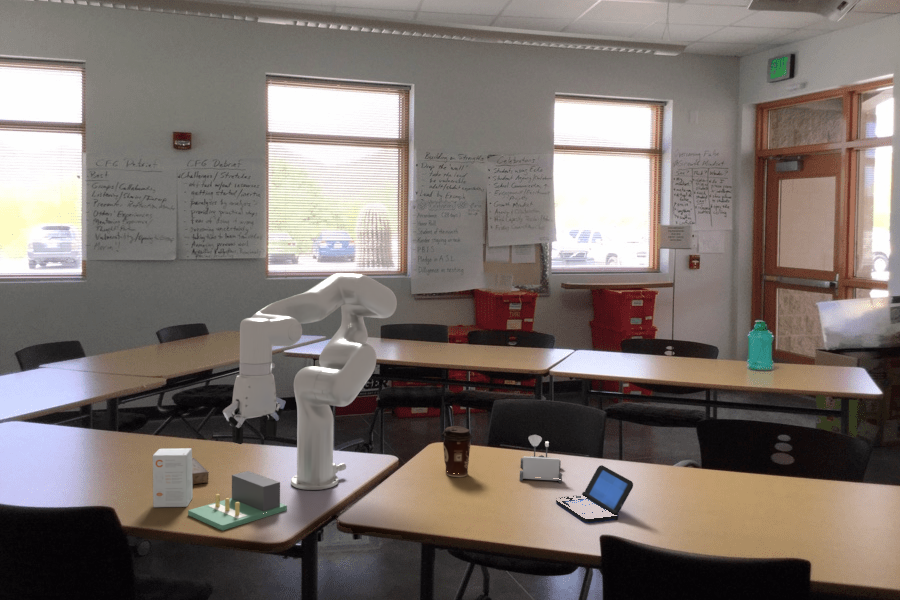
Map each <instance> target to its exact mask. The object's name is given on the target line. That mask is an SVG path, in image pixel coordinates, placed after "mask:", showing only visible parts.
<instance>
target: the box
mask: <svg viewBox="0 0 900 600" xmlns="http://www.w3.org/2000/svg"><path fill="white" fill-rule="evenodd" d="M192 483H193V486H194V485H199V484H208V483H209V471H208V470H207V469H206V468H205V467H204V466H203V465H202V464H201V463H200V462H199V461H198V460H197V459H196V458H195V457H192Z"/></svg>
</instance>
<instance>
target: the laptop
mask: <svg viewBox="0 0 900 600" xmlns="http://www.w3.org/2000/svg"><path fill="white" fill-rule="evenodd" d="M633 488H634V483H633V481H632V480H630V479H629V478H626V477H624V476H623V475H621V474H619V473H617V472H616V471H614V470H611V469H610V468H609V467H606V466H605V465H603V464H602V465H599V466H597V468H596V470H595V472H594V473H593V476H592V478H591V479H590V481H589V482H588V484H587V486H586V488H585V490H584V491H582V493H581V495H583V496H585V497H587V498H586V499H588V501H589V500H590V501H591V502H593V503H594V504H596V505H598V506H600V507H601V508H603V509H604V510H605V509H606V510H608V511H609V512H611V513H612V514H614V515H618V516H611V517H603V518H594V519H585V518H583V517H581V516H580V515H578V514H577V513H575V512H574V511H572V510H571V509H569V508H568V507H566V506H565V505H563V504H561V503H560V502H558V501H557V500H556V499H555V503H556V504H557V505H558V506H560V507H561V508H563V510H564V511H565V510H566V511H567V512H568V513H569V514H571V515H573V517H576V518H577V519H578V520H580V521H581V522H583V523H585V524H592V523H593V524H594V523H600V522H602V523H603V522H609V521H618V520H619V513H620V512H621V510H622V508H623V506H624V504H625V502H626V500H627V499H628V497H629V495H630V494H631V491H632V490H633ZM572 496H573V497H574V496H576V498H581V496H577V495H572ZM563 497H564V498H565V497H567V498H566V499H570V500H569V501H570V502H571V501H575V500H572V499H573V498H569V496H562V497H561V498H563ZM559 498H560V497H559ZM561 498H560V499H561ZM586 499H585V500H586ZM578 500H580V502H581V501H583V500H584V499H578ZM569 501H562V502H563V503H564V504H566V505H568V506H569V504H568V503H566V502H569ZM576 501H577V500H576ZM578 502H579V501H578ZM572 503H573V502H572ZM574 503H575V502H574ZM576 503H577V502H576ZM593 503H592V504H593ZM582 505H583V504H582ZM589 505H590V504H589ZM585 506H586V505H585ZM569 507H570V506H569ZM606 510H605V511H606ZM602 512H603V511H602ZM592 513H593V512H592ZM582 514H583V513H582ZM584 514H585V513H584Z"/></svg>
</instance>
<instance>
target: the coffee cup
mask: <svg viewBox="0 0 900 600" xmlns="http://www.w3.org/2000/svg"><path fill="white" fill-rule="evenodd" d="M441 435H442V437H443V439H444V440H443V443H442V445H443V447H442V448H443V456H444V464H445V475H447V476H449V477H454V478H464V477H467V476H468V474H469V471H468V470H469V461H470V451H471V442H472V441H471V439H473V435H472V433H471V432H470V429H469V428H466V427H464V426H459V425H458V426H453V425H452V426H451V425H450V426H447V427H446V428H445V429H444V430H443V432H442V433H441ZM447 471H448V472H447ZM453 473H455V474H453ZM458 473H459V474H458Z"/></svg>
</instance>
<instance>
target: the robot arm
mask: <svg viewBox="0 0 900 600" xmlns="http://www.w3.org/2000/svg"><path fill="white" fill-rule="evenodd" d="M397 304H398V301H397V297H396V295H395V293H394V292H393V290H392V289H391V288H389V287H388V286H386V285H384V284H383V283H380V282H379V281H377V280H376V279H374V278H372V277H370V276H368V275H366V274H361V273H360V274H359V273H347V272H346V273H344V272H338V273H334V274H332V275H331V274H330V275H329V276H328V277H326V278H325V279H323V280H322V281H319V282H318V283H316V285H314V286H312V287H311V288H309V289H308V290H306V291H304V292H303V293H298V294H295V295H292V296H289V297H287V298H283V299H280V300H277V301H274V302H272V303H270V304H268V305H266V306H265V307H263V308H261V309H260V310H258V311H256V313H254V314H253V315H252V316H251V317H246V318H244V319H242V320H241V322H240V324H239V375H236V378H235V381H234V385H233V391H232V401H231V403H230V405H228V406H227V407H225V408H224V409H223V410H222V413H223V415H224V418H225V420H226V422H227V423H229V425H230V426H231V427H232V431H231V433H232V435H231V436H232V437H231V438H232V442H233V443H234V444H238V445H242V444H244V428H243V427H242V425H243V423H244V422H245V421H246V420H247V419H253V418H258V417H259V418H260V417H264V416H267V419H266V421H265V423H266V426H265V427H266V435H267V436H268V437H273V438H275V437H277V431H278V427H277V426H278V421H279V419H280V416H281V415H282V413H283V412H284V408H285V405H286V402H287V401H286V400H284V399H282V398H280V397H278V396H277V389H276V388H277V387H276V381H275V376H274V374H273V373H272V371H273V369H275V367H276V364H275V362H273V347H284V348H285V347H291V346H293V345H295V344H297V343H298V342H299V341H300V340H301V338H302V335H303V327H302V324H310V323H315V322H321V321H323V320H324V319H326V318H327V317H328V316H330V315H331V314H332V313H334V312H335V311H336V310H338V309H339V308H341V322H340V327H339V328H338V329H337V331H336V332H335V333H334V335H333V336H332V337H331V338H330V340H329V341H328V342H327V343H326V345H325V346H324V348H323V349H322V351H321V352H320V355H319V358H318V362H319V366H318V365H317V366H315V365H314V366H313V365H312V366H311V365H310V366H305V367H303V368H301V369H299V370H298V371H297V373H296V374H295V375H294V376H295V377H294V380H293V391H294V392H293V393H294V396H295V397H294V398H295V402H296V410H297V412H296V413H297V414H296V415H297V417H296V419H297V424H296V425H297V426H296V427H297V428H296V437H297V438H296V439H297V441H296V474H295V475H293V476H292V477H291V479H290V484H291V486H293V487H294V488H296V489H300V490H306V491H319V490H321V491H322V490H327V489H330V488H334V487H335V486H336V485H339V480H340V479H339V477H338V476H337V473H339V472H341V471H344V470H346V469H347V465H346V463H345V462H342V463H341V462H340V463H338V464H337V463H335V462H334V415H333V414H334V413H333V411H332V408H331V406H334V407H346V406H349V405H351V404H352V403H353V401H355V399H356V398H357V397H358V395H359V393H360V392H361V391H362V389H364V387H365V385H366V384H367V382H368V381H369V379H370V378H371V376H372V375H373V373H374V371H375V369H376V366H377V365H376V364H377V359H378V358H377V353H376V350H375V348H374V347H373V345H370V343H367V342H368V337H369V336H368V335H369V334H368V329H367V327H366V325H365V323H366V322H365V321H364V318H373V319H374V318H375V319H376V318H377V319H387V318H390V317H391V316H393V315H394V314H395V312H396V310H397V307H398V305H397Z"/></svg>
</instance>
